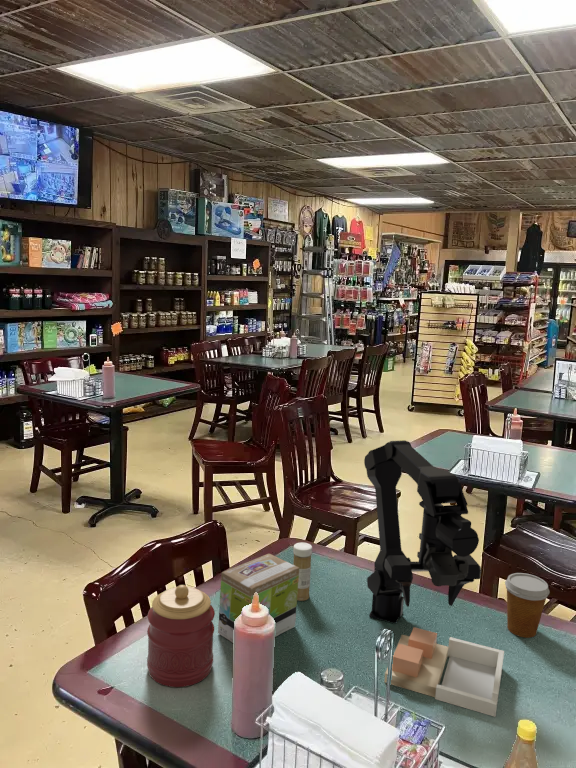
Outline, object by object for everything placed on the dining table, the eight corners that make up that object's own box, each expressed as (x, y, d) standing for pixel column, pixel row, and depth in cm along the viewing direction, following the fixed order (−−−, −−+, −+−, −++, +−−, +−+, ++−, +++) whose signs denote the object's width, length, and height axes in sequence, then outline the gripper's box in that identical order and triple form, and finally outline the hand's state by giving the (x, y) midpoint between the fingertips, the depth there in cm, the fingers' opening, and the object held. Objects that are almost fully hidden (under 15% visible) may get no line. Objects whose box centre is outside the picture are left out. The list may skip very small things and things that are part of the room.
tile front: (391, 670, 125) (393, 656, 125) (397, 656, 130) (398, 643, 129) (417, 677, 123) (418, 663, 123) (422, 663, 128) (423, 650, 127)
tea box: (248, 654, 131) (251, 588, 129) (217, 634, 138) (218, 571, 135) (297, 627, 142) (300, 565, 140) (265, 609, 149) (267, 550, 146)
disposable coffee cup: (520, 645, 139) (527, 595, 137) (491, 623, 148) (496, 575, 146) (553, 637, 143) (559, 588, 141) (522, 615, 152) (528, 569, 150)
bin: (435, 699, 120) (436, 680, 120) (448, 654, 135) (449, 637, 134) (495, 716, 116) (497, 697, 115) (502, 668, 131) (504, 651, 130)
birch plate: (384, 682, 124) (385, 673, 124) (401, 642, 138) (402, 634, 138) (435, 697, 121) (436, 688, 120) (447, 655, 134) (448, 646, 134)
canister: (216, 650, 132) (219, 571, 129) (208, 690, 119) (211, 604, 116) (154, 647, 132) (155, 568, 129) (139, 687, 119) (140, 601, 116)
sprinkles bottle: (306, 591, 158) (309, 541, 156) (311, 601, 154) (314, 549, 151) (289, 592, 157) (291, 542, 155) (293, 602, 153) (296, 550, 150)
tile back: (407, 652, 131) (408, 639, 131) (412, 639, 136) (413, 627, 135) (431, 658, 129) (433, 645, 129) (436, 646, 134) (437, 633, 133)
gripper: (402, 552, 119) (396, 628, 122) (497, 552, 121) (488, 626, 124) (386, 528, 130) (380, 598, 133) (473, 528, 132) (466, 596, 135)
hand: (428, 605), depth 131 cm, fingers open, 9 cm apart
